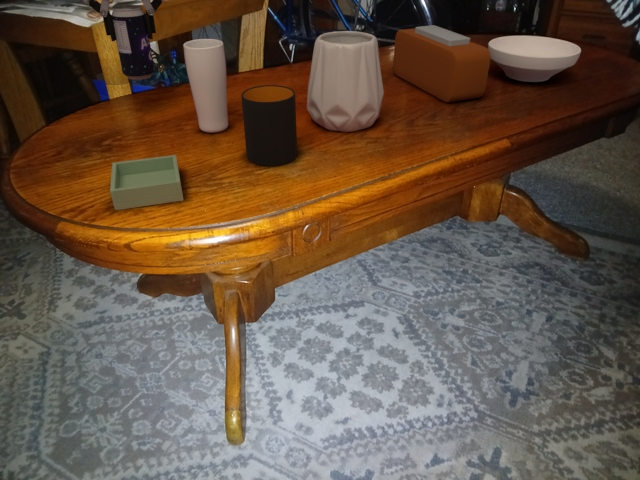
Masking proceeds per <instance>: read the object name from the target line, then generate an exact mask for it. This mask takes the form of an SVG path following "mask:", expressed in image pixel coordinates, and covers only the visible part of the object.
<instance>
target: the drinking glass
mask: <svg viewBox="0 0 640 480" xmlns="http://www.w3.org/2000/svg"><path fill="white" fill-rule="evenodd" d="M182 46H183V55H184V64H185V69H186V74H187V79H188V83H189V86H190V87H189V88H190V91H191V95H192V100H193V104H194V109H195V113H196V118H197V123H198V124H197V125H198V128H199V129H200V131H202V132H204V133H208V134H209V133H210V134H215V133H220V132H224V131H225V130H227V129H228V127H229V116H228V115H229V114H228V92H227V91H228V87H227V85H228V82H227V78H228V77H227V61H226V53H225V46H224V42H223V41H222V40H219V39H216V38H215V39H214V38H198V39H192V40H188V41H185V42H184V43H183V44H182Z"/></svg>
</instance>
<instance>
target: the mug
mask: <svg viewBox="0 0 640 480" xmlns="http://www.w3.org/2000/svg"><path fill="white" fill-rule="evenodd" d="M240 95H241V96H240V97H241V109H242V120H243V129H244V139H245V141H244V142H245V150H246V151H245V152H246V158H247V160H248V161H249V162H250V163H252V164H254V165H256V166H262V167H279V166H284V165H287V164H290V163H292V162H293V161H295V160H296V158H297V157H298V136H297V135H298V133H297V109H296V108H297V105H296V104H297V103H296V92H295V90H294V89H292V88H291V87H289V86H283V85H279V84H278V85H277V84H264V85H257V86H253V87H250V88H247V89H245V90H243V91H242V92H241V94H240Z"/></svg>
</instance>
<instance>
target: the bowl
mask: <svg viewBox="0 0 640 480" xmlns="http://www.w3.org/2000/svg"><path fill="white" fill-rule="evenodd" d="M487 49H488V50H489V52H490V56H491V57H490V60H492V61H493V62H494V63H495V64H496V65H497V66H498V67H499V68H500V69H501V70H502V71H503V72H504V74H505V76H506V77H507V78H510V79H512V80H514V81H515V80H516V81H520V82H529V83H540V82H545V81H548V80H550V78H551V77H553V76H554V75H556V74H559V73H560V72H563V71H565V70H566V69H567V68H570V67H572V66H574V65H576V64H577V62H578V60H579V58H580V56H581V53H582V48H581V47H580V46H579V45H577V44H576V43H574V42H570V41H568V40H563V39H559V38H554V37H547V36H540V35H506V36H500V37H495V38H493V39H491V40H490V41H489V42H488V43H487Z"/></svg>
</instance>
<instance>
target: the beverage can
mask: <svg viewBox="0 0 640 480" xmlns="http://www.w3.org/2000/svg"><path fill="white" fill-rule="evenodd" d="M111 9H112V11H111V17H112V22H113V27H114V32H115V37H116V40H115V42H116V47H117V52H118V56H119V61H120V67H121V72H122V75H124V76H126V77H127V78H128V79H129V80H133V81H142V80H147V79H149V78H151V77H152V75H153V74H154V72H155V66H154V60H153V53H152V48H151V41H150V39H149V37H148V31H147V25H146V19H145V14H146V12H144V10H143V7H142V5H140V4H139V5H138V4H120V5H119V4H118V5H114V6H112V8H111Z"/></svg>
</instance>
